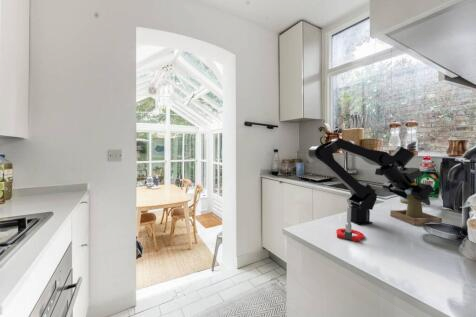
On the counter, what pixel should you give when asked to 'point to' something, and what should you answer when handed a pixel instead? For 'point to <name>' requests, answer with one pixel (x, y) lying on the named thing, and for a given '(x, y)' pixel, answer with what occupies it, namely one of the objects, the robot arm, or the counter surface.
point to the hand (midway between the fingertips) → (418, 201)
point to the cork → (414, 207)
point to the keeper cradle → (414, 221)
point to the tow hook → (349, 228)
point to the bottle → (407, 194)
